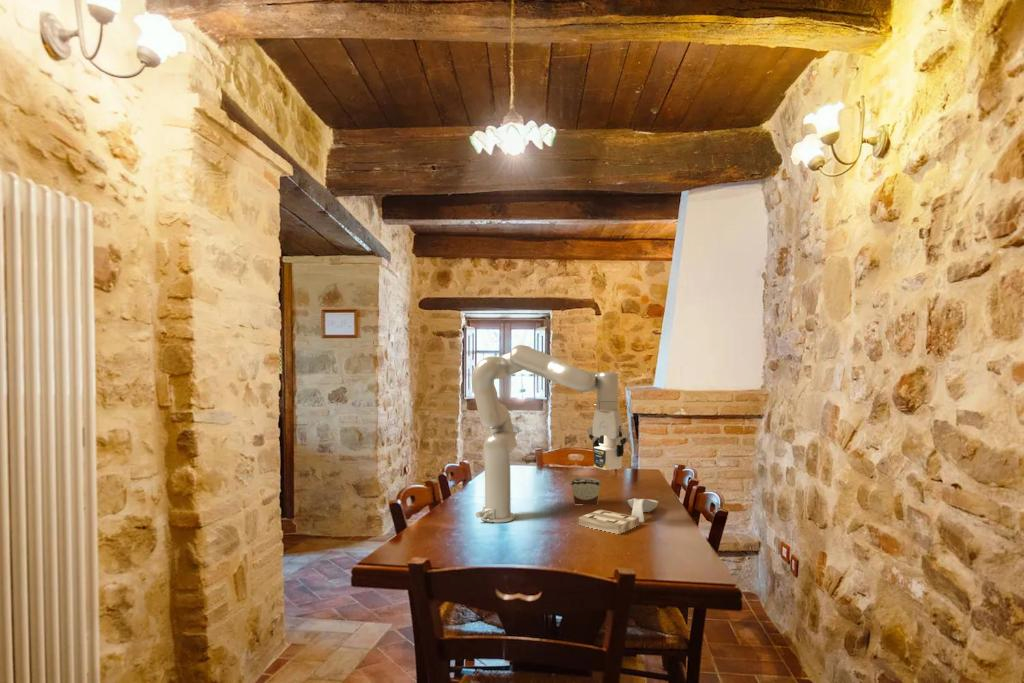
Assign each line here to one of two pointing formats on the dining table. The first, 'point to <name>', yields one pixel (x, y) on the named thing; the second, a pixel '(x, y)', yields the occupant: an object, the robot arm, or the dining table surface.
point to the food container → (585, 491)
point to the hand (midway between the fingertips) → (608, 454)
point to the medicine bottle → (606, 454)
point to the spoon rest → (642, 507)
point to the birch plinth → (609, 521)
